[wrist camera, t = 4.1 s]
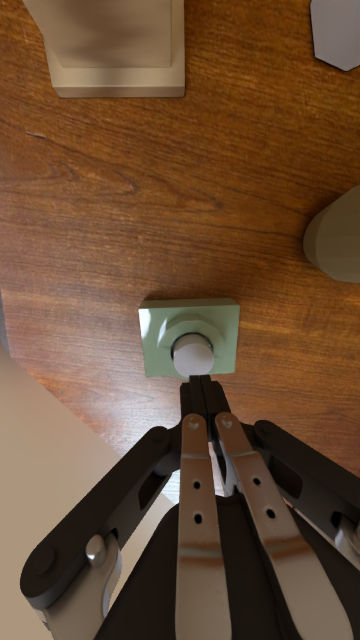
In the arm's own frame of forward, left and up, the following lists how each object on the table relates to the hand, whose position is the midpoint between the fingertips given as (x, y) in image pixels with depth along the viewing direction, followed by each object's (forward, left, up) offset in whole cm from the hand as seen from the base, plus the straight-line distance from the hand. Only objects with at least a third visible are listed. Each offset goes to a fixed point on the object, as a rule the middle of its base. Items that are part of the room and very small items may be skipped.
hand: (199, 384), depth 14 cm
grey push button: (0, 0, -5) cm, 5 cm away
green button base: (0, 0, -10) cm, 10 cm away
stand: (-5, +26, -10) cm, 28 cm away
